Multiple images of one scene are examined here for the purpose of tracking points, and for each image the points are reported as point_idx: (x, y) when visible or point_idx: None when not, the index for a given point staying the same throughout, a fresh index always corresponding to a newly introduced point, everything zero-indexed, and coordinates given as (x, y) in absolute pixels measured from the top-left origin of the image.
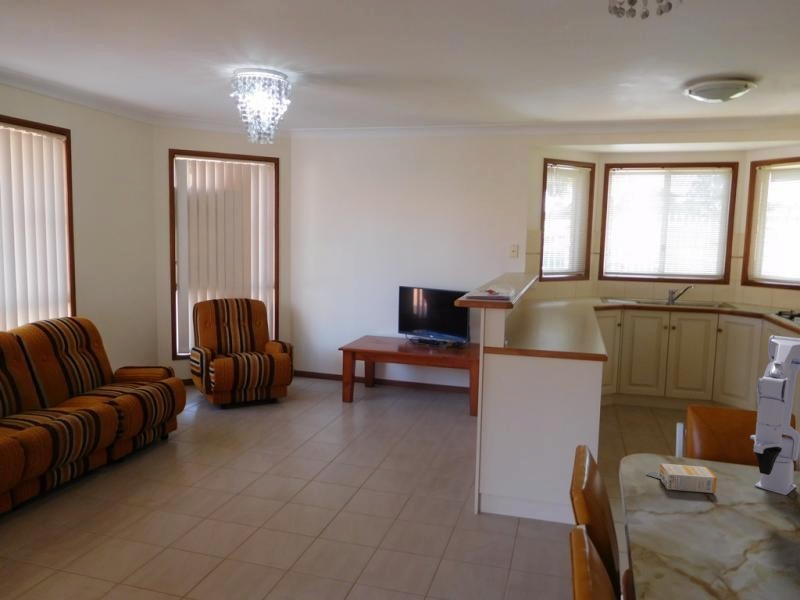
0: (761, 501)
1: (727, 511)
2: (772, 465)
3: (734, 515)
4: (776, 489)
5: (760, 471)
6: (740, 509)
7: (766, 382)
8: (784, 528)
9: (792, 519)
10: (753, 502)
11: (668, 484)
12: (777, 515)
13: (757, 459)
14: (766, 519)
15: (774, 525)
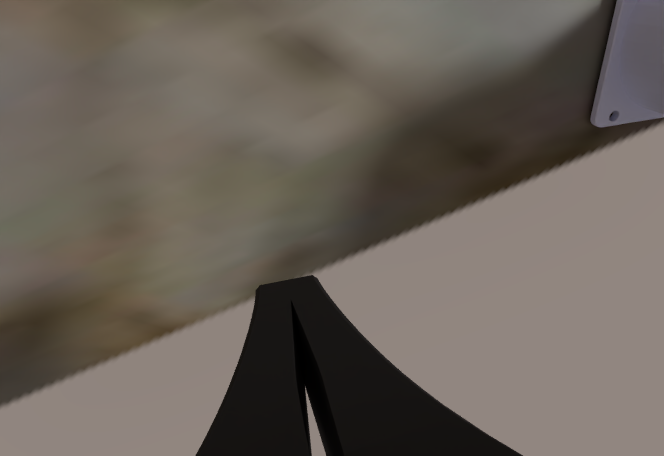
0: (407, 83)
1: (19, 28)
2: (325, 448)
3: (14, 93)
4: (624, 73)
5: (255, 302)
6: (155, 67)
7: None
8: (160, 305)
9: (303, 273)
10: (350, 61)
11: None
12: (285, 221)
13: (224, 406)
14: (175, 219)
15: (143, 271)
